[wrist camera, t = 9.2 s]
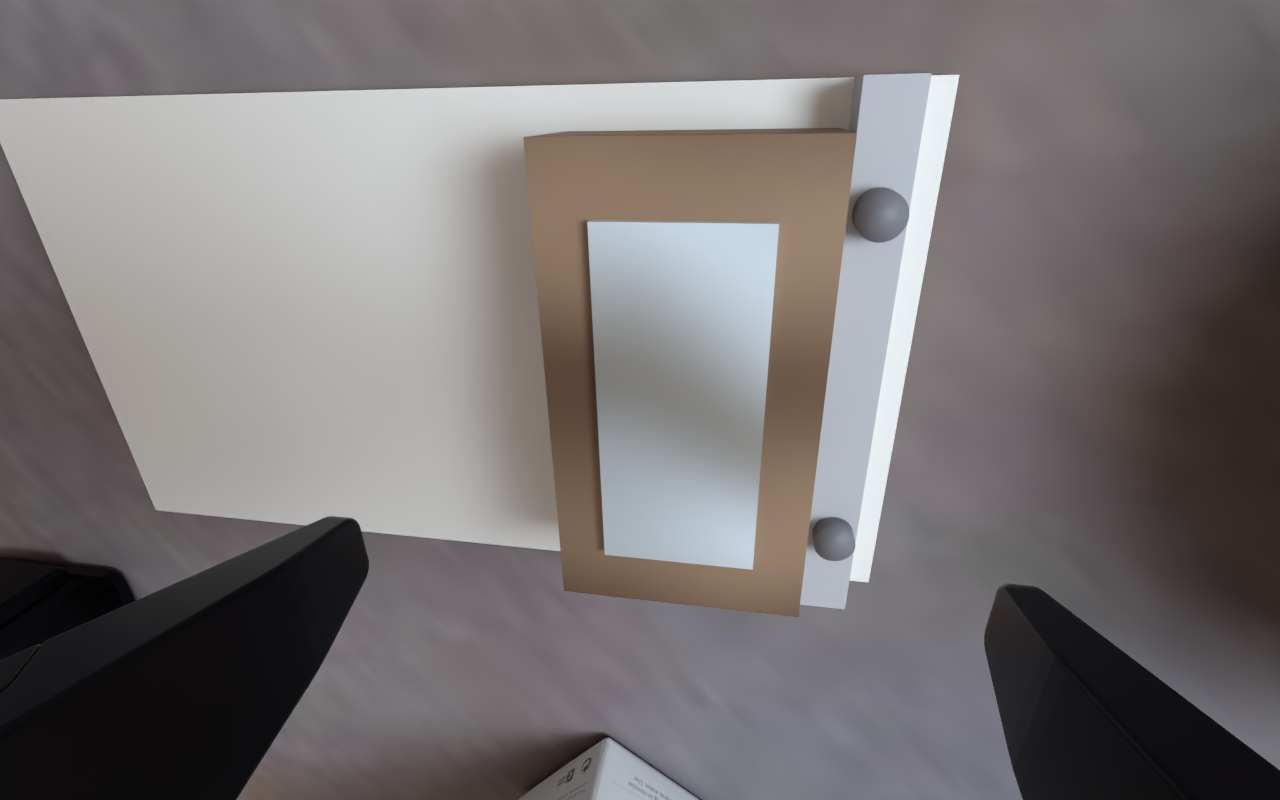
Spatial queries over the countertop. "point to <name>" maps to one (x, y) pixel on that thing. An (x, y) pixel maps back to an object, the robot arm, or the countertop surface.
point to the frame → (687, 353)
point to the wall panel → (422, 291)
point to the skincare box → (607, 778)
